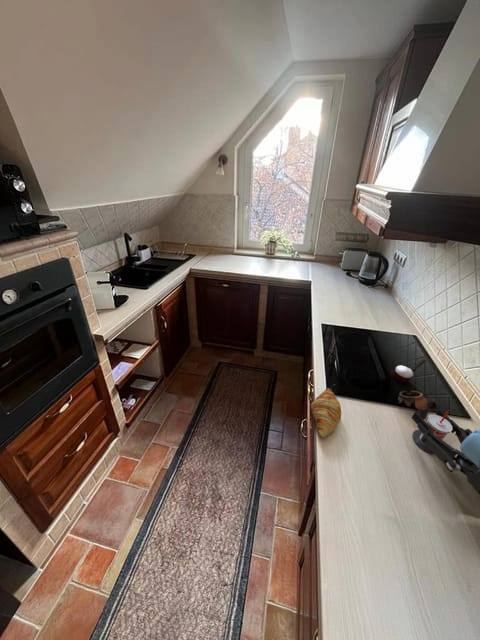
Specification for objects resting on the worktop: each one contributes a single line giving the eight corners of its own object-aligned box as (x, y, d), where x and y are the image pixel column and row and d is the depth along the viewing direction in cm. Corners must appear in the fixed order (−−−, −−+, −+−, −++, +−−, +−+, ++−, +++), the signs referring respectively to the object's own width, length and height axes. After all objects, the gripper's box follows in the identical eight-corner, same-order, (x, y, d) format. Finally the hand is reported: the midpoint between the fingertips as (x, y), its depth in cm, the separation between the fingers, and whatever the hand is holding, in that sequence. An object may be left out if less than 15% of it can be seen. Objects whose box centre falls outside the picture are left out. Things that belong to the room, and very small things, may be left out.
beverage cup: (414, 440, 81) (432, 411, 74) (420, 429, 85) (437, 400, 77) (437, 454, 77) (458, 424, 70) (441, 441, 81) (462, 412, 74)
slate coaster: (437, 433, 84) (437, 432, 84) (448, 458, 77) (449, 457, 76) (408, 427, 86) (409, 426, 85) (417, 451, 78) (417, 450, 78)
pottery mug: (406, 422, 88) (402, 399, 87) (395, 411, 97) (392, 390, 97) (445, 420, 85) (442, 396, 85) (430, 409, 94) (427, 387, 94)
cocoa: (387, 379, 105) (397, 356, 99) (390, 370, 110) (400, 348, 104) (413, 389, 101) (426, 366, 95) (415, 380, 105) (427, 357, 99)
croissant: (328, 449, 82) (346, 440, 77) (303, 431, 82) (319, 421, 77) (332, 400, 98) (347, 390, 94) (311, 385, 98) (325, 375, 94)
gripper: (451, 503, 62) (392, 424, 82) (523, 492, 65) (449, 418, 84) (466, 487, 59) (400, 408, 78) (541, 477, 61) (460, 402, 81)
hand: (426, 413), depth 81 cm, fingers open, 8 cm apart
